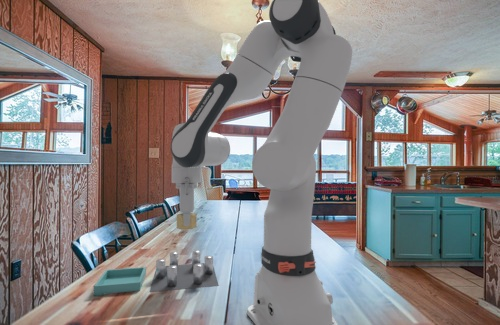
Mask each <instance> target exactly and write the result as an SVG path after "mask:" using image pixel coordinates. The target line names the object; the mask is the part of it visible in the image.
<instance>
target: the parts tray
mask: <svg viewBox="0 0 500 325" xmlns="http://www.w3.org/2000/svg"><path fill="white" fill-rule="evenodd" d="M146 275H147V267H146V266H141V267H140V266H139V267H128V268H115V269H106V270H105V271H104V272H103V273H102V275H101V276H100V277H99V279H98V280H97V281H96V283H95V284H94V285H93V297H99V296H100V297H101V296H104V295H106V294H108V295H109V294H118V293H128V292H139V291H141V289H142V287H143V283H144V281H145V278H146Z"/></svg>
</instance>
